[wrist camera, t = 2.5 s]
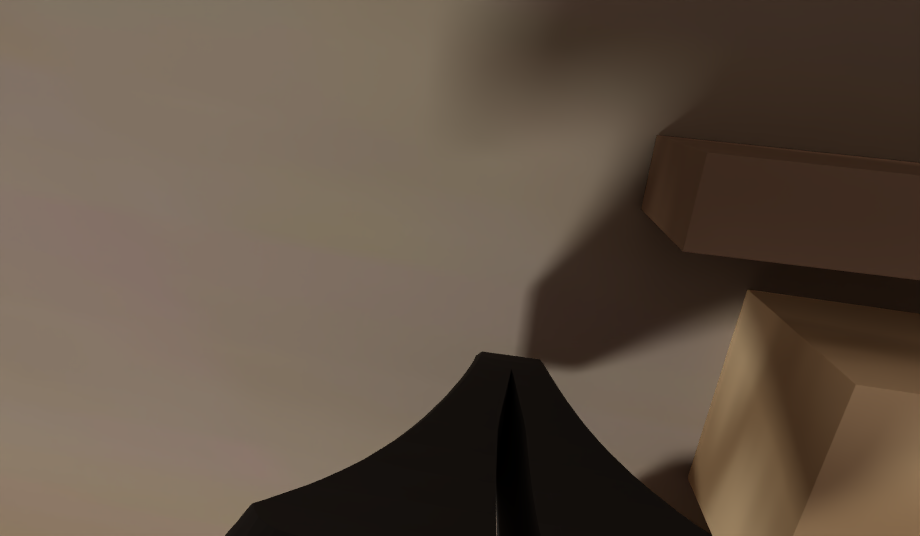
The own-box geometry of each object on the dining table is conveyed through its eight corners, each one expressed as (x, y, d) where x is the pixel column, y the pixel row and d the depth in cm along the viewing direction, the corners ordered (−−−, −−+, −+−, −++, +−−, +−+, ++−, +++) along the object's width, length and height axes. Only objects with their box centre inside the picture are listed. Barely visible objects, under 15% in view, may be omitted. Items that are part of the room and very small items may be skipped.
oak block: (896, 509, 13) (1055, 685, 9) (685, 474, 13) (753, 631, 9) (988, 321, 11) (1229, 440, 7) (744, 287, 11) (855, 384, 8)
